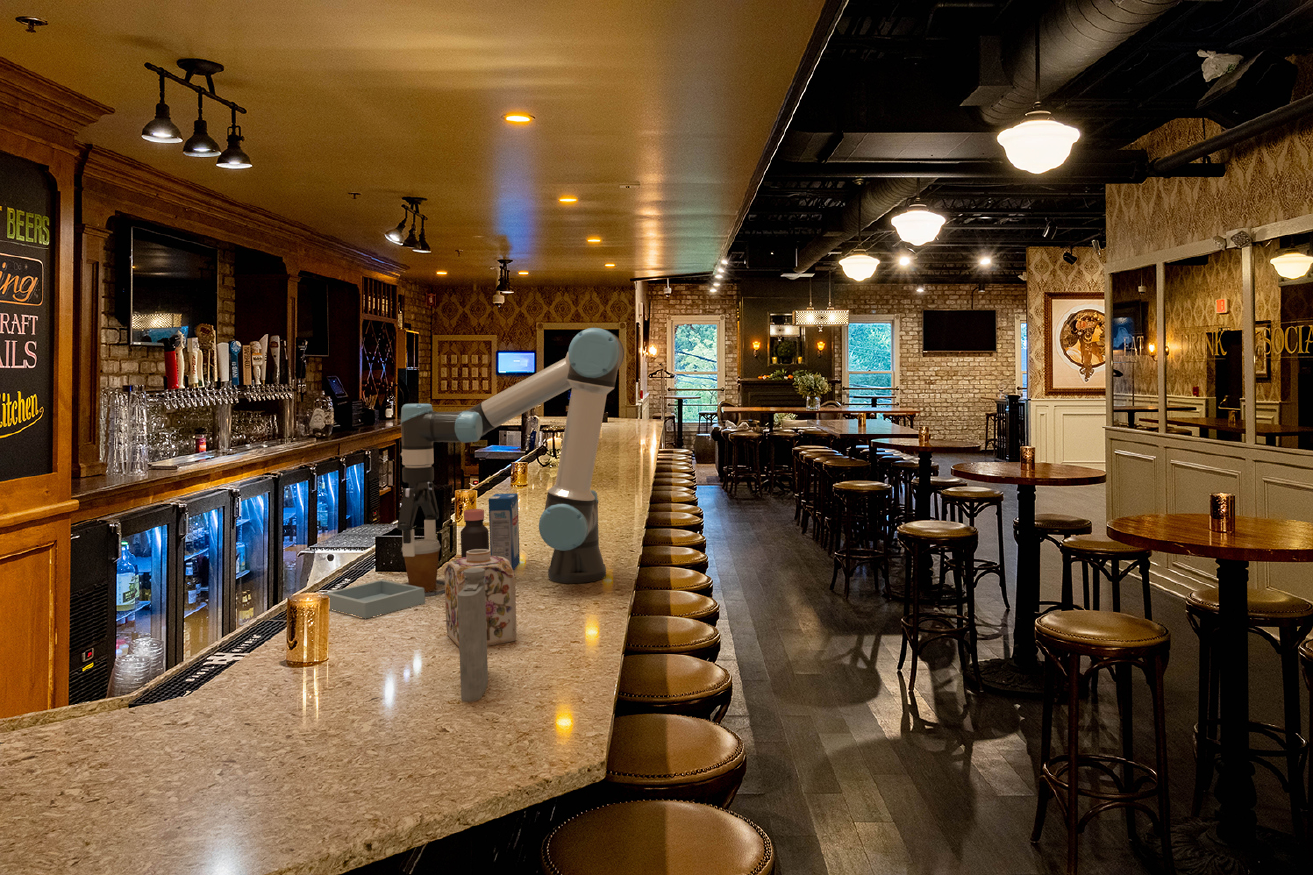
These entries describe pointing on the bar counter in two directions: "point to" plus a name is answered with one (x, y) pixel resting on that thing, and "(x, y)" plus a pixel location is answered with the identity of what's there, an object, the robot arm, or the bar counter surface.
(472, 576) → the hip flask
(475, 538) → the bottle
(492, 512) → the milk carton
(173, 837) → the bar counter surface
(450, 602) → the decorative jar
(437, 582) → the collar
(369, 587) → the bin
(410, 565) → the disposable coffee cup
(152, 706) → the bar counter surface
